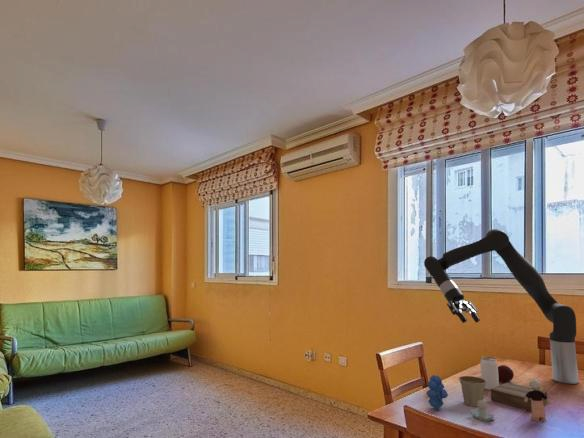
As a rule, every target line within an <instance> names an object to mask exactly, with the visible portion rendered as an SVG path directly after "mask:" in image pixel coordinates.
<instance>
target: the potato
mask: <svg viewBox="0 0 584 438" xmlns="http://www.w3.org/2000/svg"><path fill="white" fill-rule="evenodd" d="M514 375H515V374H514V371H513V369H511V367H509V366H507V365H505V364H501V365H498V378H499V382H502V383H507V382H508V383H510V381H512V380H513V379H514Z"/></svg>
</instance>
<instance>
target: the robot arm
mask: <svg viewBox="0 0 584 438" xmlns="http://www.w3.org/2000/svg"><path fill="white" fill-rule="evenodd" d="M490 252H496V254H498V255H499V257H500V258H501V259H502V260H503V262H504V264H505V265H506V267H507V269H508V270H509V271H510V273H511V274H512V276H513V277H514V278H515V279H516V281H517V282H518V283H519V285H520V286H521V287H522V288H523V289H524V290H525V292H526V293H527V294H528V295H529V296H530V297H531V298H532V300H534V301H535V303H536V304H537V305H538V308H539V309H540V311H541V312H542V313H543V315H544V317H545V318H546V319H547V320H548V321H549V322H550V323H552V325H553V327H552V332H550V333H549V345H550V356H551V358H550V359H551V371H552V372H551V373H552V374H551V375H552V379H553V381H556V382H559V383H562V384H572V385H573V384H574V385H576V384H579V374H578V359H577V350H576V337H577V317H576V313H575V311H574V309H573V308H572V307H570V306H569V305H566V304H563V303H562V304H561V303H559V302H558V301H557V300H556V299H555V298H554V297H553V296H552V295H551V294H550V292H549V291H548V289H547V286H546V284H545V281H544V278H543V277H542V276H541V274H540V273H539V271H538V270H537V269H536V268H535V267H534V266H533V264H531V263H530V262H529V261H528V260H527V259H526V258H525V256H524V255H522V254H521V253H520V252H519V251H518V250H517V249H516V247H514V245H513V244H512V242H511V241H510V237H509V235H508V233H506V232H505V231H504V230H502V229H499V228H494V229H493V228H492V229H491V230H489V231H488V232H487V233H486V235H485V236H484V237H483V238H481V239H479V240H477V241H475V242H471V243H468V244H465V245H462V246H458V247H455V248H453V249H451V250H448V251H446V252H444V253H443V254H442V257H440V258H439V259H438V258H437V257H435V256H433V255H432V256H431V255H430V256H427V257H425V259H424V262H423V265H424V267H425V268H426V270H427V272H428V273H429V274H430V276H431V277H432V278H433V280H434V282H435V284H436V286H437V287H438V288H439V290H440V292H441V293H442V295H443V296H444V298H445V300H446V301H447V303H446V306H447V307H448V309H449V311H450V312H451V314H452V315H455V316H457V317H458V318H459V320H460V321H461V323H463V324H465V323H467V321H468V319H467V318H466V316H465V315H464V314H463V312H465V313H466V314H468V315H470V317H471V318H472V319H473V321H474V322H475V323H478V322H480V321H481V320H480V318H479V316H478V315H477V313H478V312H479V311H478V309H477V308H476V306H475V305H474V304H473V302H472V301H471V300H468V301H466V300H465V296H464V293H463V292H462V291H461V290H460V288H459V287H458V285H457V284H456V283H455V282H454V281H453V279H452V278H451V276H450V274H448V272H447V271H446V270H447V269H449V268H450V267H452V266H455V265H457V264H460V263H462V262H464V261H467V260H469V259H472V258H474V257H477V256H480V255H483V254H486V253H490Z"/></svg>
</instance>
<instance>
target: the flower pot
mask: <svg viewBox="0 0 584 438" xmlns="http://www.w3.org/2000/svg"><path fill="white" fill-rule="evenodd" d="M458 380H459V383H460V385H461V390H462V397H463V402H464V403H465V404H466V406H471V407H477V401H479V400H482V401H484V395H485V389H484V387H485V384H486V383H487V381H486V380H485V379H482V378H481V377H478V376H473V375H462V376H459V377H458Z"/></svg>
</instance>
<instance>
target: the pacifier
mask: <svg viewBox="0 0 584 438" xmlns="http://www.w3.org/2000/svg"><path fill="white" fill-rule="evenodd" d="M487 406H488V405H487V404H486V402H485V401H484V400H483V401H482V400H479V401H477V406H476V407H477V408H478V410H476V409H473V408H472V409H470V410H469V412H470V414H471V415H472V416H473V417H475V418H476V419H477V420H478V421H483V422H489V421H494V420H495V419H496V418H495V415H496V414H491V413H486V410H487Z"/></svg>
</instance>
